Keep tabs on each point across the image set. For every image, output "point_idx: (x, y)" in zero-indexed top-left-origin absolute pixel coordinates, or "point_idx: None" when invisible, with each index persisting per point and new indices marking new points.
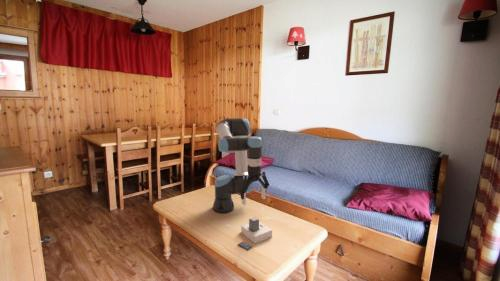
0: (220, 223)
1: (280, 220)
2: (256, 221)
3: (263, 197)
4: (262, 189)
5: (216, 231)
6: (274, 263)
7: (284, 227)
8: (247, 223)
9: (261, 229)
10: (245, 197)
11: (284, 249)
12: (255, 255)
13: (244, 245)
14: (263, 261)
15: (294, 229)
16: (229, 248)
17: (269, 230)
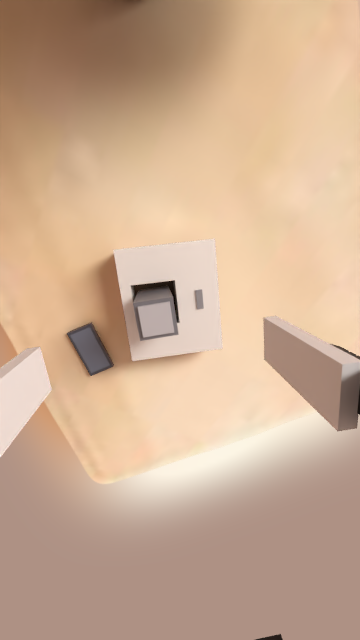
0: (46, 115)
1: (323, 248)
2: (161, 336)
3: (270, 352)
4: (320, 370)
5: (6, 186)
6: (142, 454)
7: (297, 305)
8: (150, 247)
9: (184, 325)
10: (7, 444)
11: (208, 414)
12: (106, 404)
13: (88, 351)
14: (116, 436)
15: (319, 334)
16: (31, 334)
17: (210, 346)
